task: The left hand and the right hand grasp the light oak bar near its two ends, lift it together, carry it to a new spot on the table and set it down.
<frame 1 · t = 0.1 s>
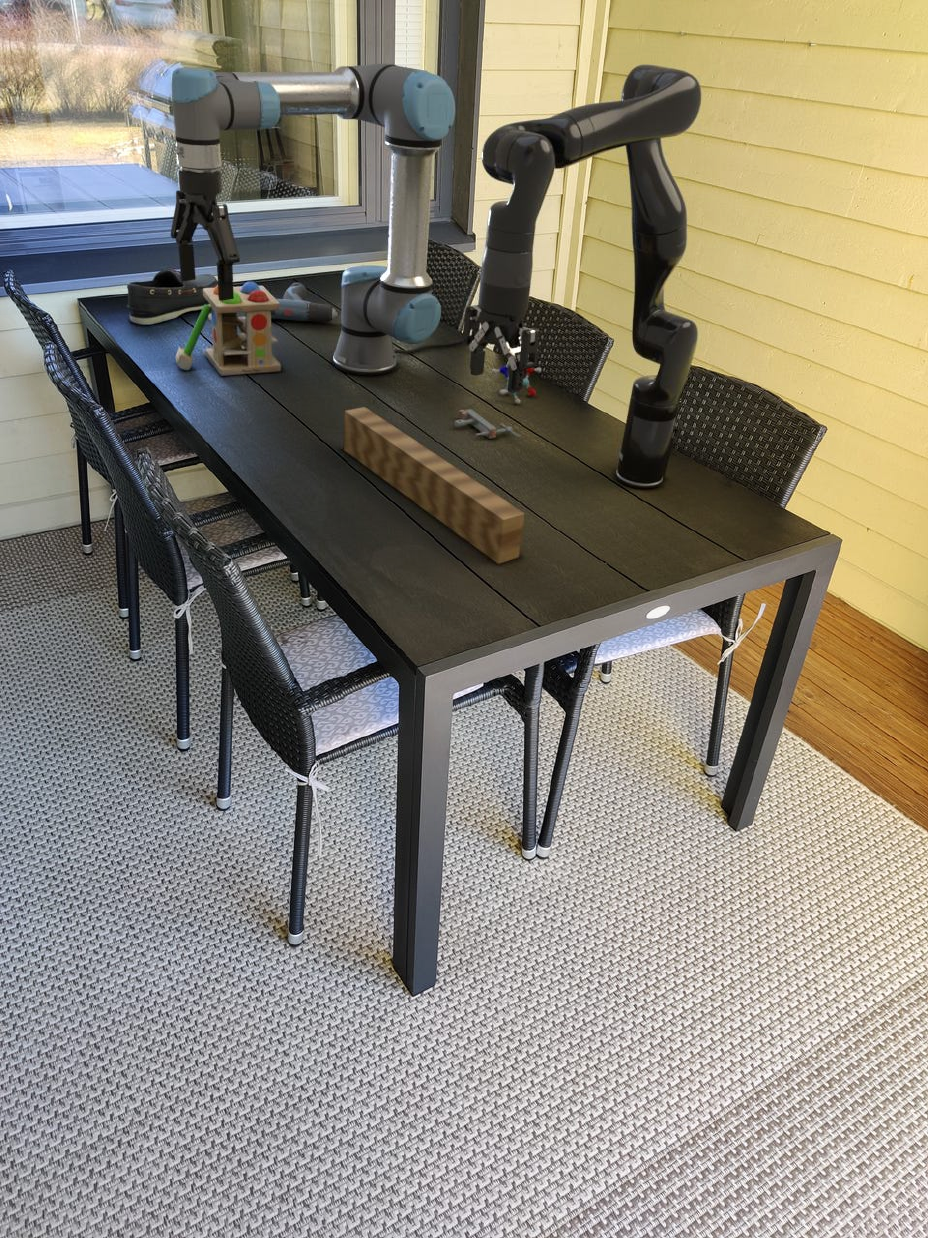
left hand: (206, 289, 186), 28 cm above the table, tool pointing down, fingers open, 13 cm apart
right hand: (494, 382, 155), 29 cm above the table, tool pointing down, fingers open, 8 cm apart
boat shoe: (176, 309, 261), on the table
pounding bench toy: (225, 365, 230), on the table
molecular model: (512, 397, 229), on the table
bar: (424, 499, 183), on the table
clamp: (483, 432, 211), on the table
power drill: (305, 313, 267), on the table
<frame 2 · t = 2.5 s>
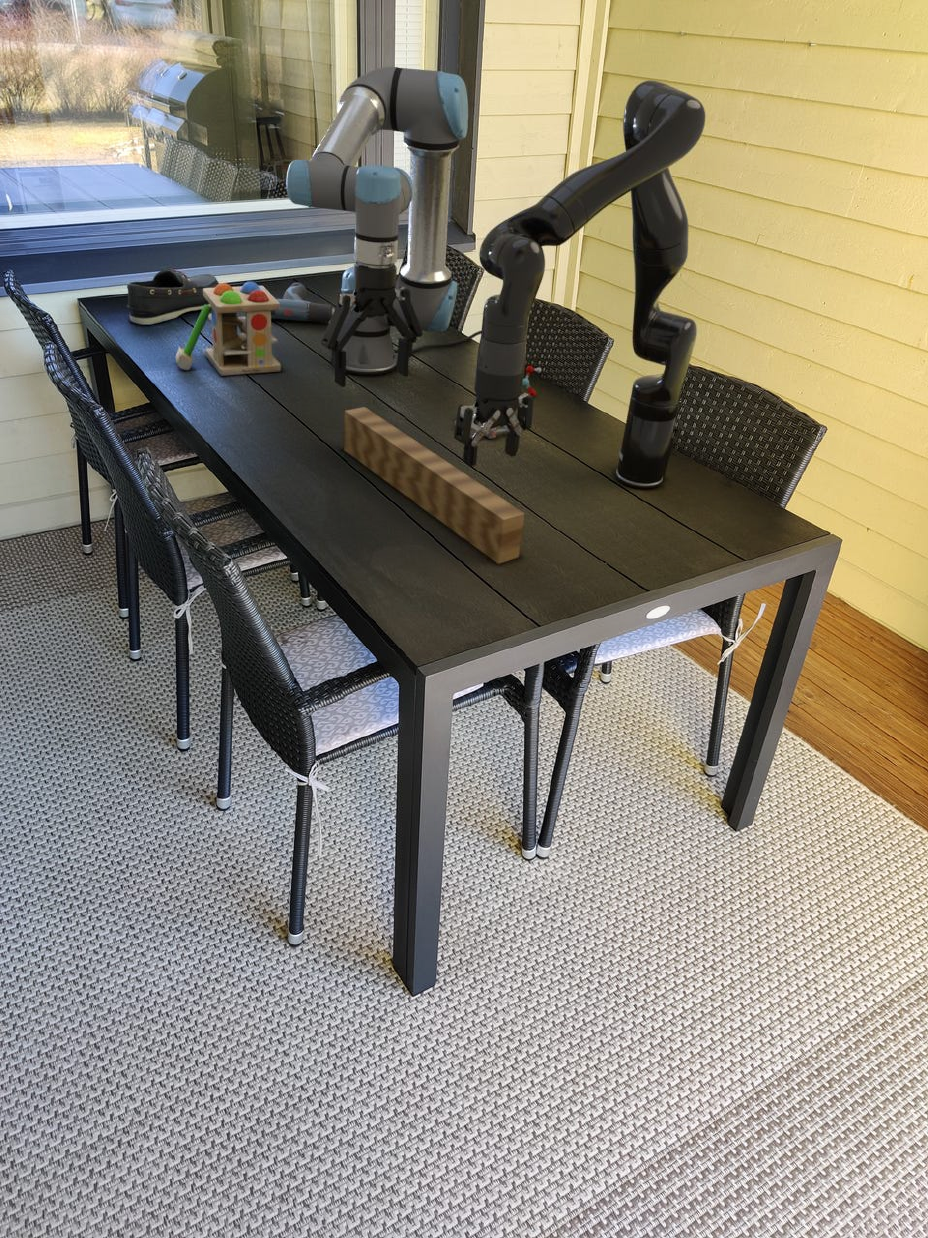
left hand: (371, 379, 184), 17 cm above the table, tool pointing down, fingers open, 13 cm apart
right hand: (490, 459, 163), 16 cm above the table, tool pointing down, fingers open, 8 cm apart
nothing on the table moved.
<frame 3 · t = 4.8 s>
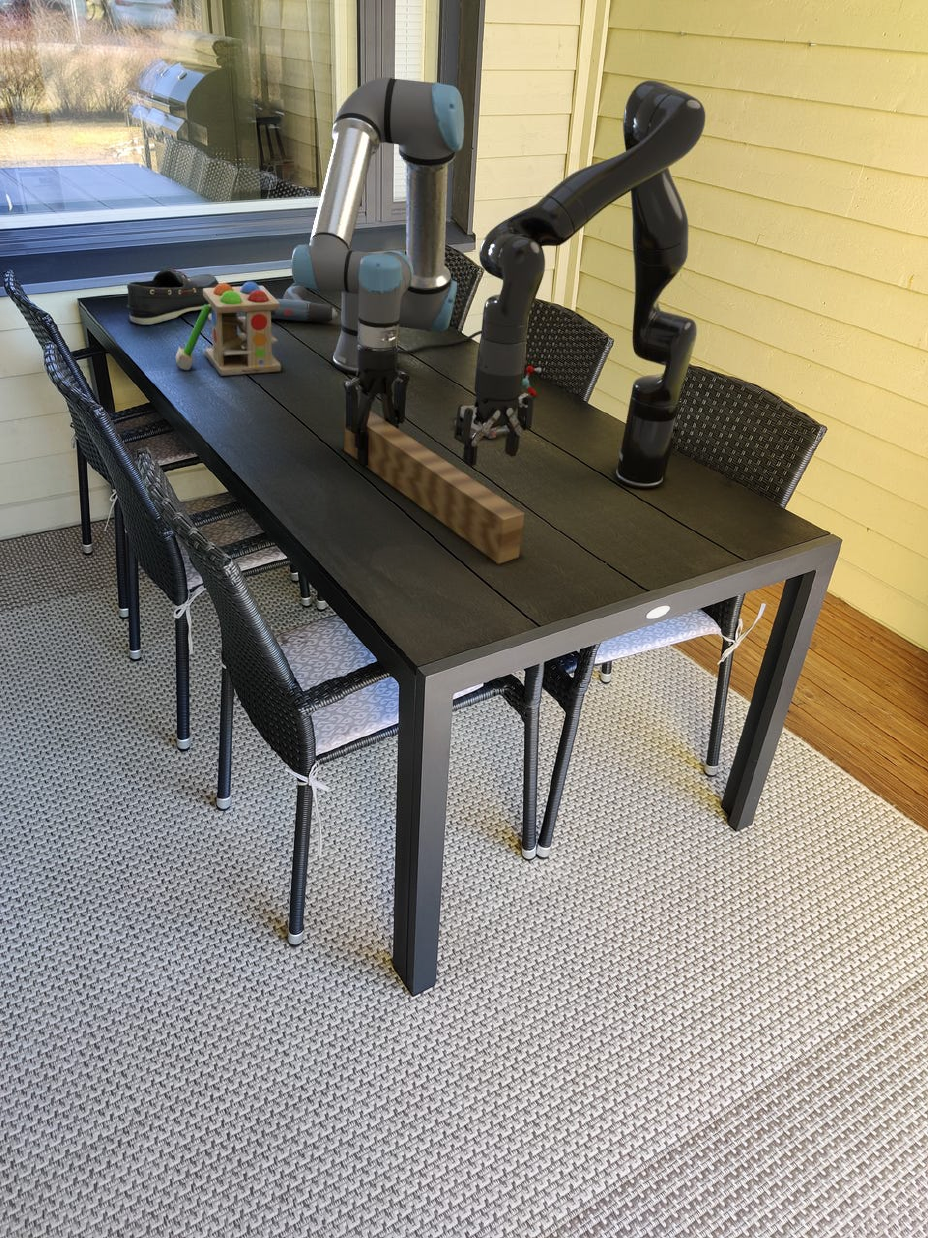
left hand: (374, 460, 193), 1 cm above the table, tool pointing down, fingers closed on bar, 5 cm apart
right hand: (490, 459, 163), 16 cm above the table, tool pointing down, fingers open, 8 cm apart
bar: (424, 499, 183), on the table, touching left hand
everything else where it was.
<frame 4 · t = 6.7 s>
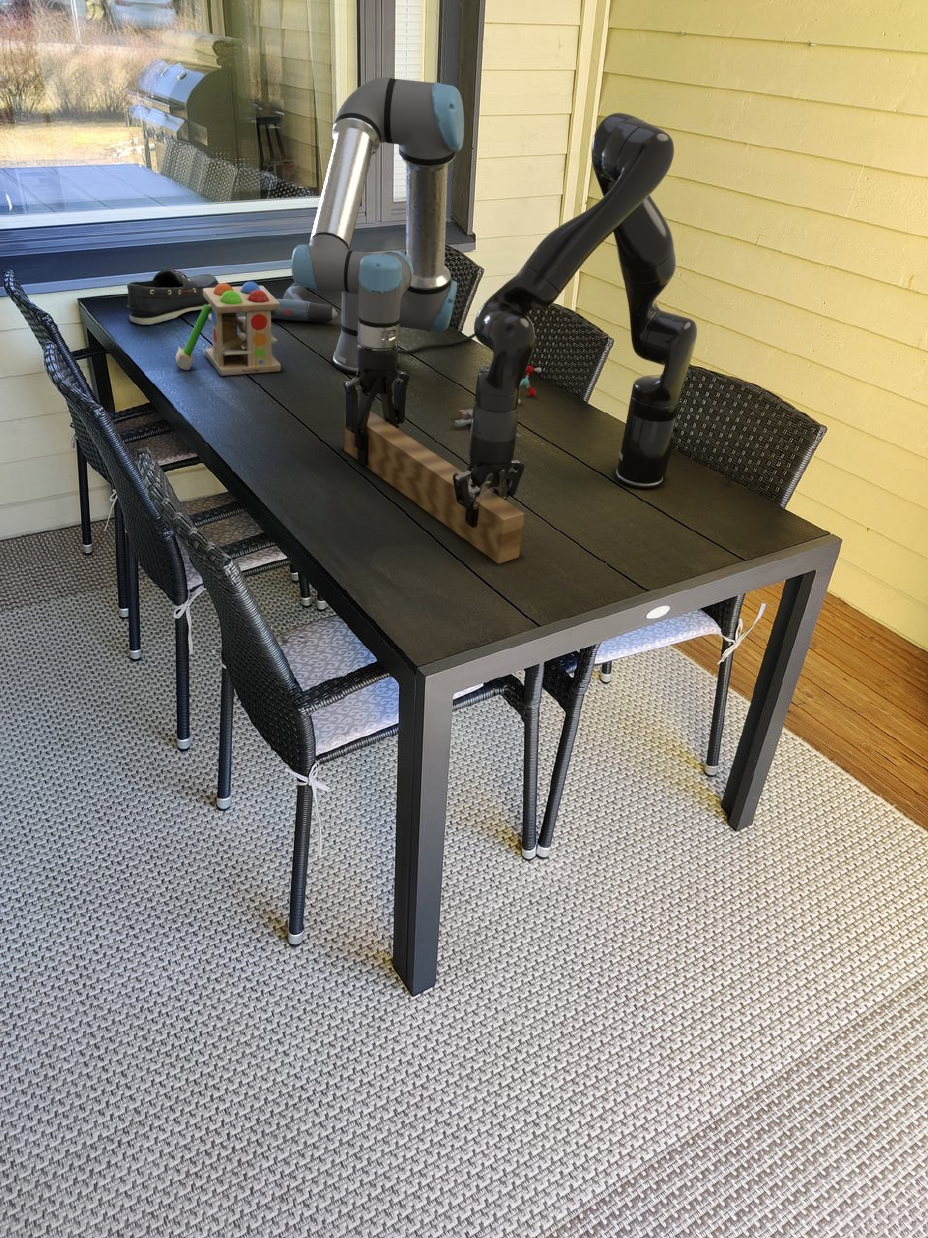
left hand: (374, 460, 193), 1 cm above the table, tool pointing down, fingers closed on bar, 5 cm apart
right hand: (483, 521, 169), 4 cm above the table, tool pointing down, fingers closed on bar, 4 cm apart
bar: (424, 499, 183), on the table, touching left hand, right hand
everything else where it was.
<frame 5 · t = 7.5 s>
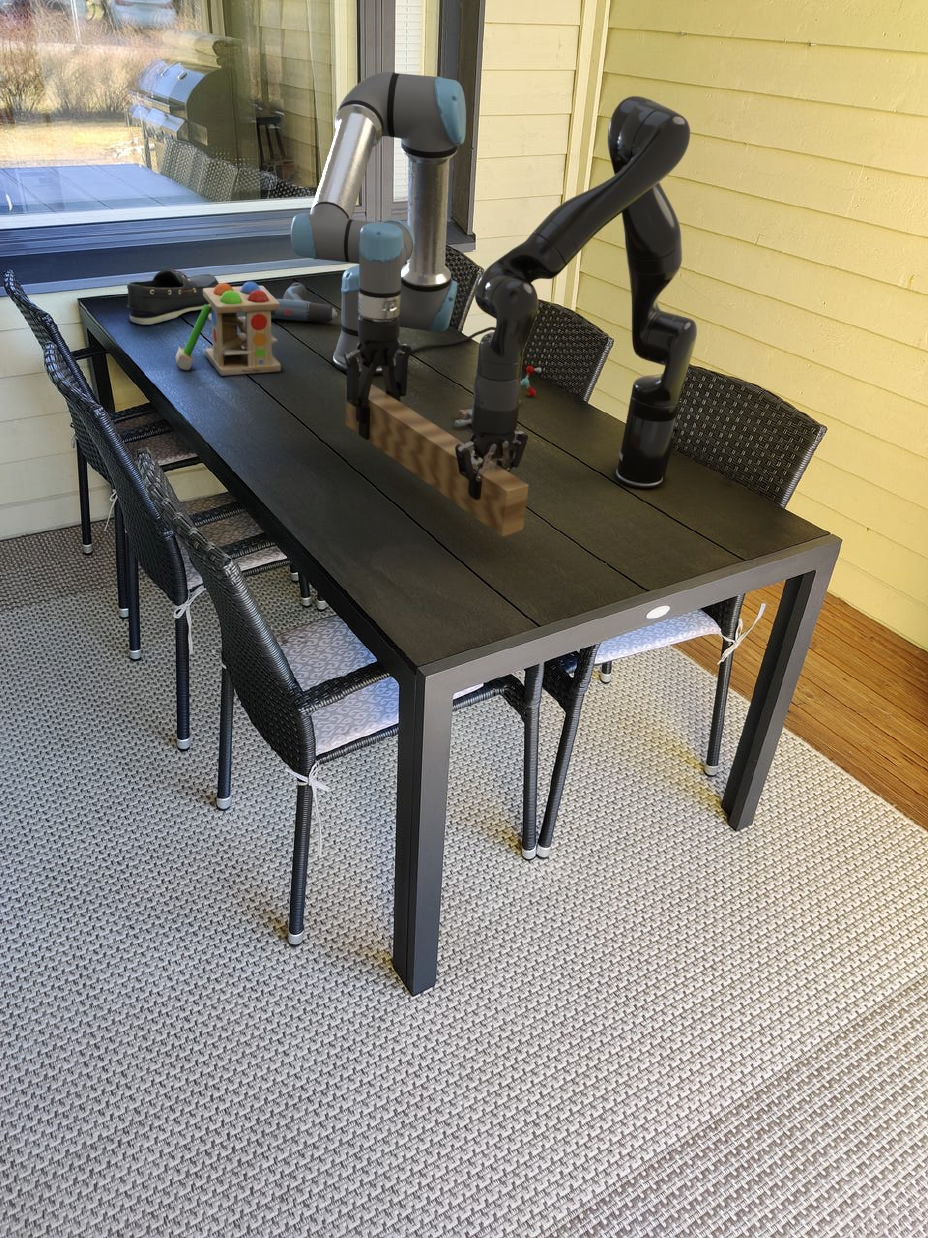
left hand: (375, 433, 191), 6 cm above the table, tool pointing down, fingers closed on bar, 5 cm apart
right hand: (487, 493, 167), 9 cm above the table, tool pointing down, fingers closed on bar, 4 cm apart
bar: (427, 473, 180), point 5 cm above the table, touching left hand, right hand
everything else where it was.
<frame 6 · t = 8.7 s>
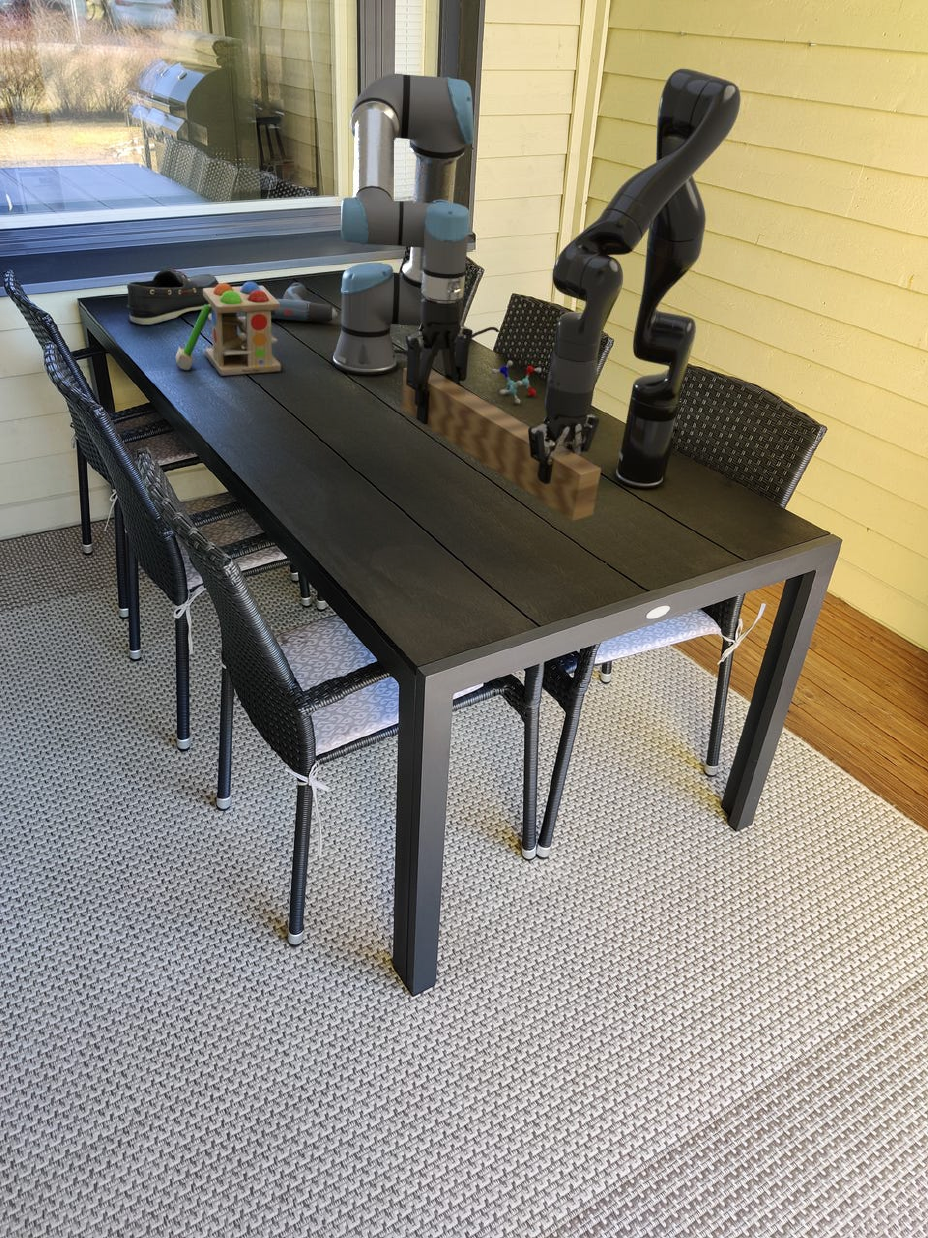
left hand: (433, 418, 188), 10 cm above the table, tool pointing down, fingers closed on bar, 5 cm apart
right hand: (556, 478, 165), 13 cm above the table, tool pointing down, fingers closed on bar, 4 cm apart
bar: (489, 458, 178), point 10 cm above the table, touching left hand, right hand
everything else where it was.
when the left hand's fingers open (2 cm above the table, at t = 10.6 s): bar stays where it is, on the table.
when the right hand's fingers open (5 cm above the table, at t = 10.8 s): bar stays where it is, on the table.
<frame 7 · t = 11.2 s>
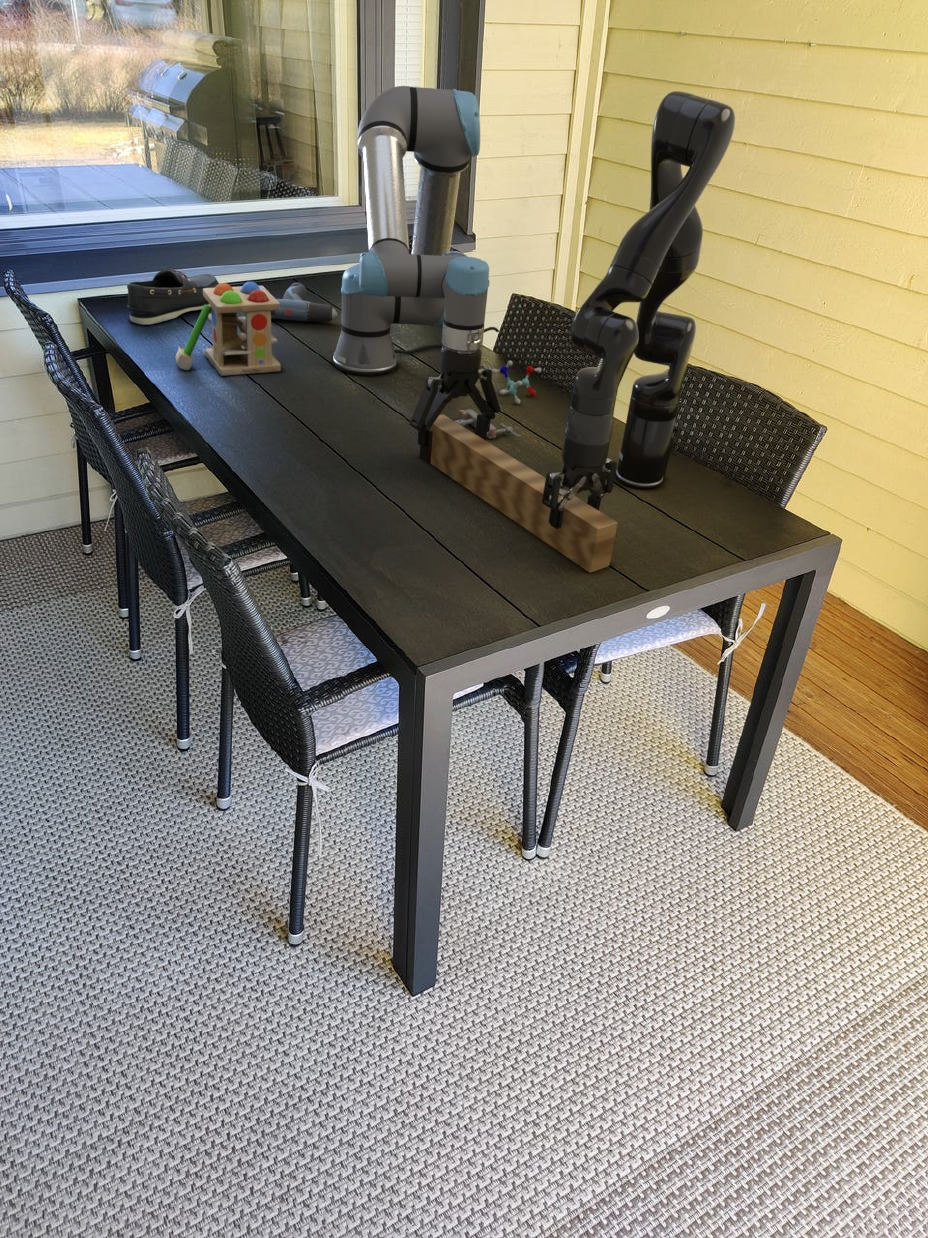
left hand: (452, 453, 192), 3 cm above the table, tool pointing down, fingers open, 13 cm apart
right hand: (573, 521, 169), 6 cm above the table, tool pointing down, fingers open, 8 cm apart
bar: (507, 507, 183), on the table
everything else where it was.
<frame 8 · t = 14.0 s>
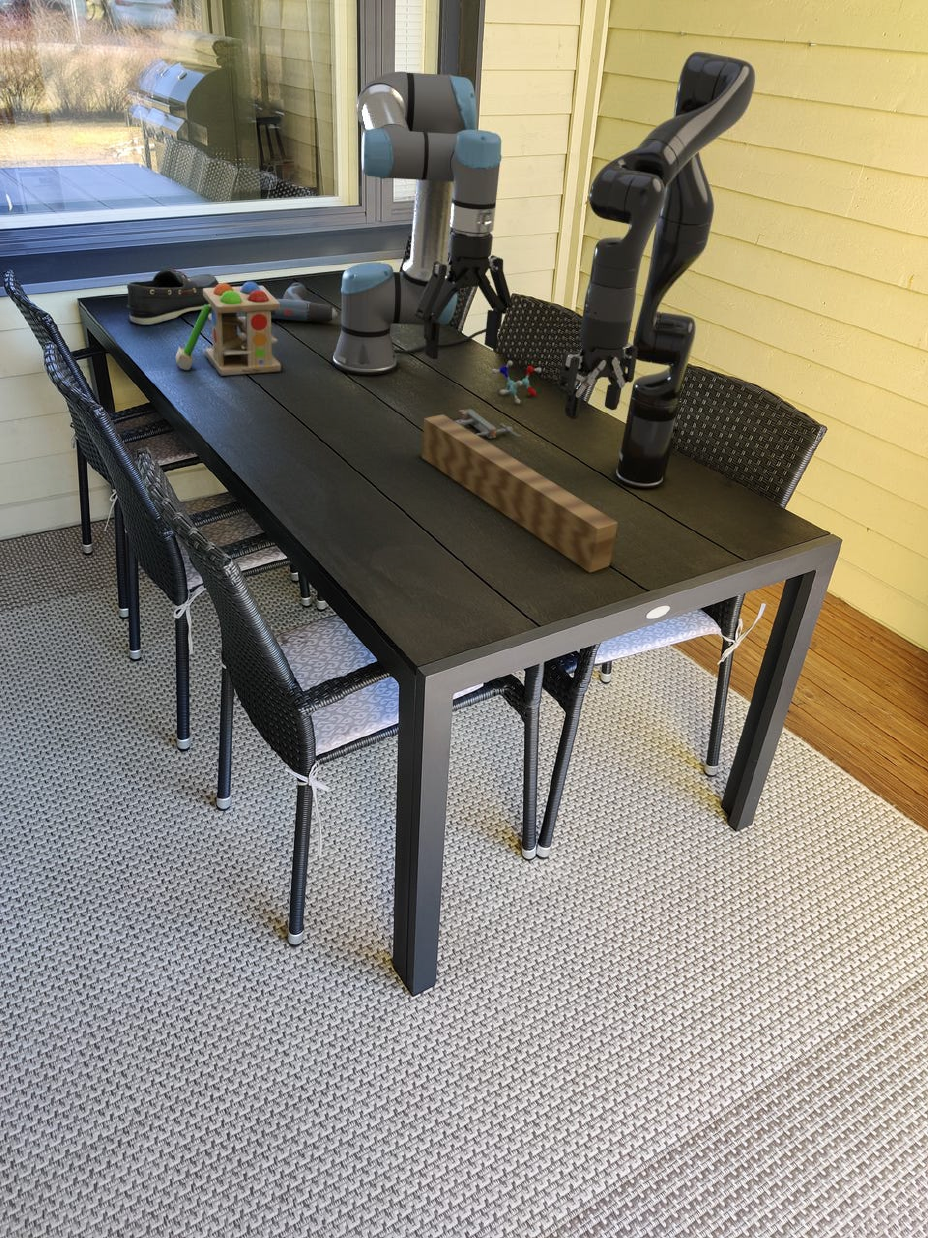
left hand: (461, 351, 181), 24 cm above the table, tool pointing down, fingers open, 13 cm apart
right hand: (591, 412, 158), 25 cm above the table, tool pointing down, fingers open, 8 cm apart
nothing on the table moved.
at the end: bar inside the target area (0.3 cm from its centre), on the table; bar tilted 0°; bar never tilted more than 2° during the clip; both hands held the bar at the same time; the left hand is holding nothing; the right hand is holding nothing; bar at rest at the end (0.0 cm/s) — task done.
